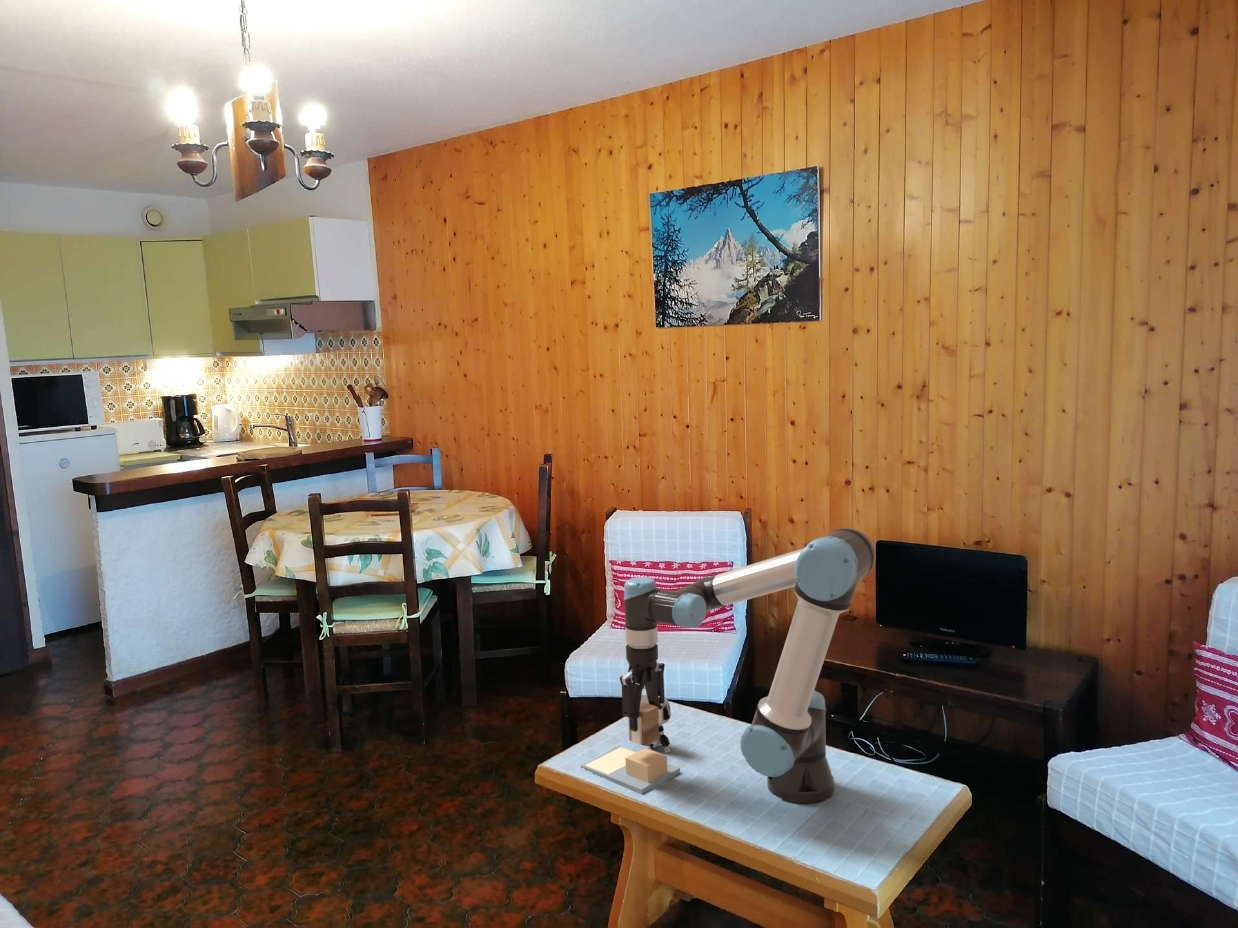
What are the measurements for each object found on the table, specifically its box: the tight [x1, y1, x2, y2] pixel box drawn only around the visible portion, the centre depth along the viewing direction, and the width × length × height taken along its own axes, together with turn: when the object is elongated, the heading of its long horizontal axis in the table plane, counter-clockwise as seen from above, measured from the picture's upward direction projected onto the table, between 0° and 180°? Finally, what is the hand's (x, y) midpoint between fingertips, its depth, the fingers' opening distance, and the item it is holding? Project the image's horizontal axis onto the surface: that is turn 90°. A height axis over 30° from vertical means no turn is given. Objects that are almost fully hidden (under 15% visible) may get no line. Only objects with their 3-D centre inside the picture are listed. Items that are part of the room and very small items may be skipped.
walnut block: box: [628, 702, 659, 747], centre depth 208 cm, size 5×5×8 cm
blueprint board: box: [580, 745, 681, 795], centre depth 213 cm, size 20×14×5 cm
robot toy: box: [641, 689, 672, 753], centre depth 225 cm, size 12×4×15 cm, turn 44°
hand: (644, 738), depth 208 cm, fingers closed on walnut block, 5 cm apart
